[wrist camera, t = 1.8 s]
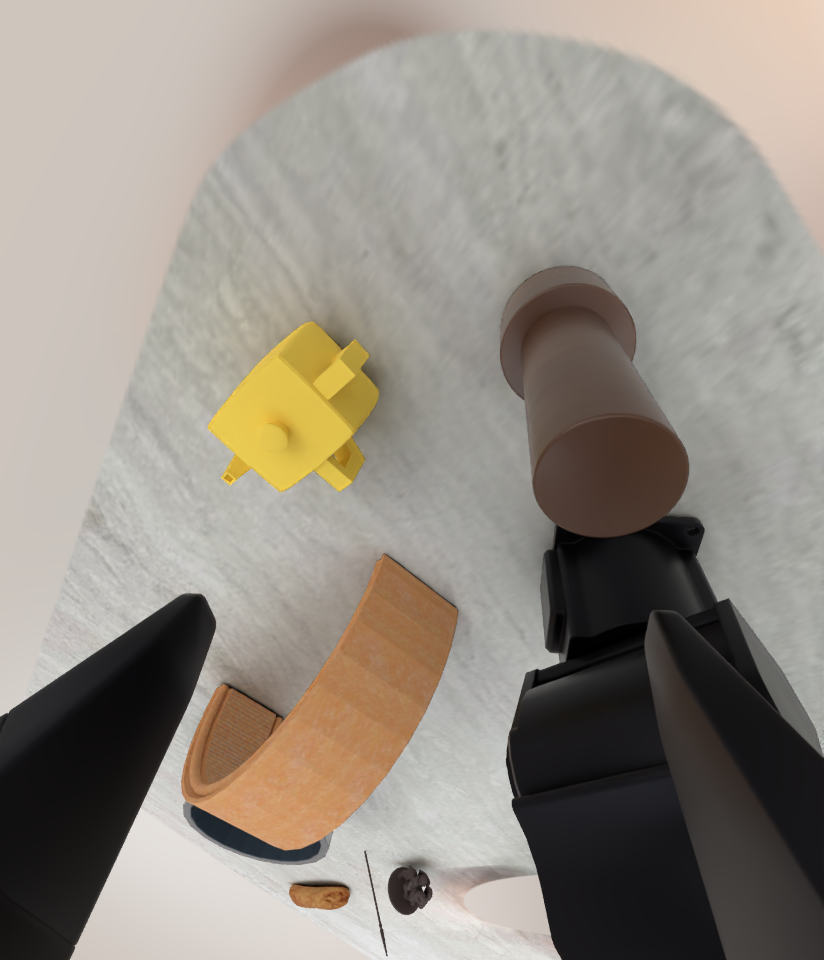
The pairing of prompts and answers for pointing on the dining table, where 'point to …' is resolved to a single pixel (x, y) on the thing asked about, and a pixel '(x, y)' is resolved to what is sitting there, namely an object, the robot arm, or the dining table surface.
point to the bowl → (250, 840)
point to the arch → (326, 721)
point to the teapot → (299, 412)
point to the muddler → (588, 407)
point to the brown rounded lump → (319, 896)
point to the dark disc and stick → (405, 891)
